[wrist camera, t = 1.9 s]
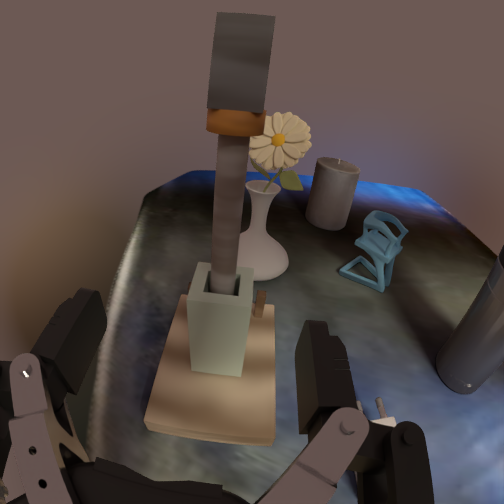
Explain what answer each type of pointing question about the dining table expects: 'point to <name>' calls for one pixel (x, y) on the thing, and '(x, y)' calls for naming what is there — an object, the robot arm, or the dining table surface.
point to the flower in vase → (271, 191)
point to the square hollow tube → (219, 322)
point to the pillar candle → (331, 193)
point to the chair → (377, 250)
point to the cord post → (226, 259)
